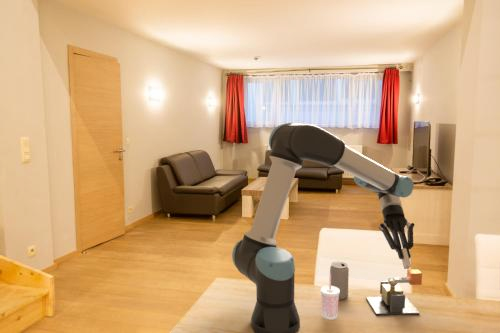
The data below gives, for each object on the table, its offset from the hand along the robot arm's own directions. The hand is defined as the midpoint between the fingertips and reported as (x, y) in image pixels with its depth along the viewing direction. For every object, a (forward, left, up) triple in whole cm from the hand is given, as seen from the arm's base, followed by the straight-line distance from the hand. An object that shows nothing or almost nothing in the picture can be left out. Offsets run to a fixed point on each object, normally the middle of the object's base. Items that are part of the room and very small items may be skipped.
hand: (407, 267), depth 134 cm
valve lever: (-3, -6, -3) cm, 7 cm away
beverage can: (-23, +2, -12) cm, 26 cm away
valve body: (-7, -6, -12) cm, 15 cm away
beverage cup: (-29, -11, -12) cm, 33 cm away
